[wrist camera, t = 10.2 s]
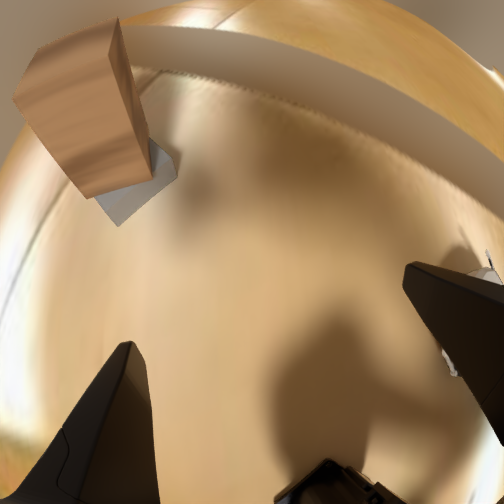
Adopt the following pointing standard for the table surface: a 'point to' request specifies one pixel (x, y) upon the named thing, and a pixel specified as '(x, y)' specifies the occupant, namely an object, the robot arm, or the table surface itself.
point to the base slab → (139, 188)
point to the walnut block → (88, 109)
